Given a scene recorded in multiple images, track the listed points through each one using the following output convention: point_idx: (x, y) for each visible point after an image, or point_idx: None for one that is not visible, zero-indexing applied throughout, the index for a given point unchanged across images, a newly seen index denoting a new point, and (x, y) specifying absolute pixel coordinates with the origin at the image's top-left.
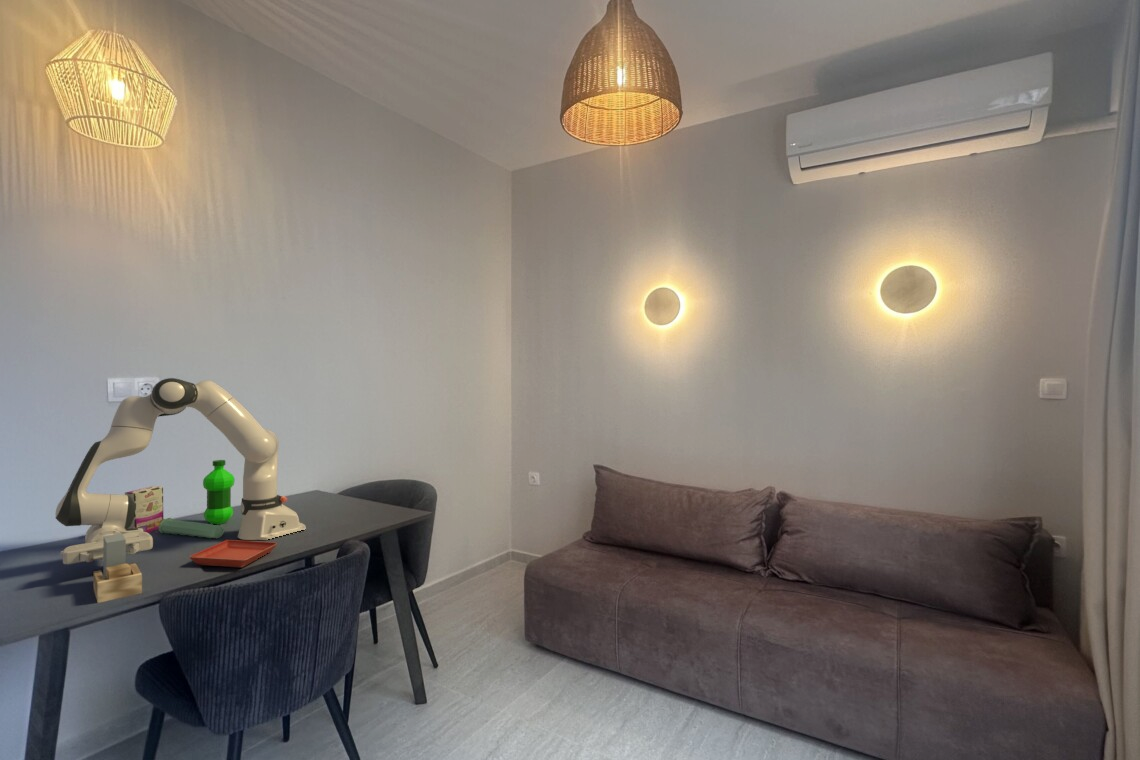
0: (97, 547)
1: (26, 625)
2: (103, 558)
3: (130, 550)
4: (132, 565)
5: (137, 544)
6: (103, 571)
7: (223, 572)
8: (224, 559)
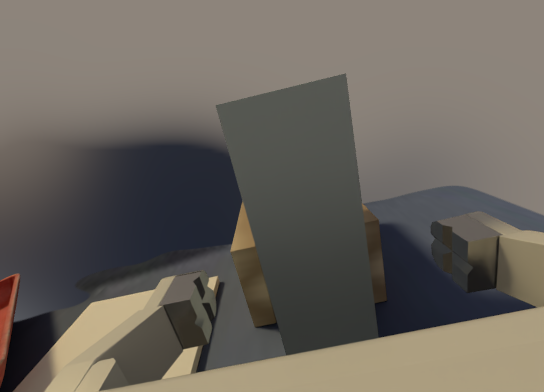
0: (537, 312)
1: (450, 195)
2: (368, 255)
3: (205, 277)
4: (245, 237)
5: (97, 343)
6: (376, 329)
7: (54, 311)
8: (16, 294)
